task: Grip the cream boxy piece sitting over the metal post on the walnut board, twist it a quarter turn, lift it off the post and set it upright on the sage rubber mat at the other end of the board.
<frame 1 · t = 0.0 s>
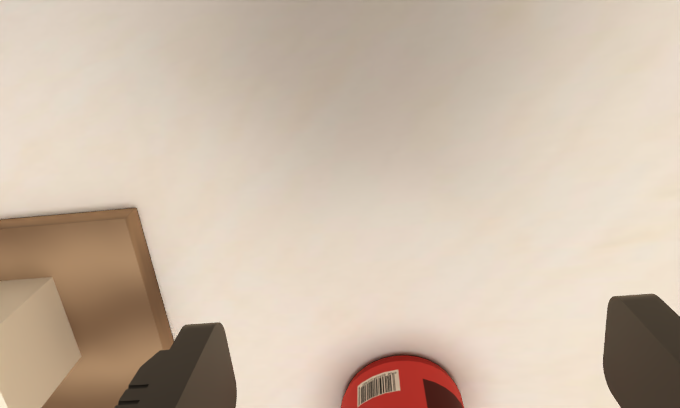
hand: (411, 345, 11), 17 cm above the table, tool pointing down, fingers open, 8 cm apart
post board: (67, 382, 34), on the table
canned food: (399, 397, 33), on the table
cream boxy piece: (22, 321, 30), point 1 cm above the table, touching post board
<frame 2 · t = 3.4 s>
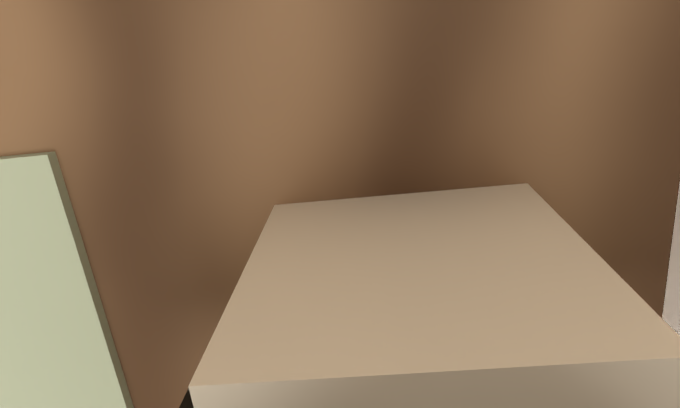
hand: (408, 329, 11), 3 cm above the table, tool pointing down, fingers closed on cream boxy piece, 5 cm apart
post board: (185, 289, 14), on the table
cream boxy piece: (406, 303, 12), point 2 cm above the table, touching gripper, post board
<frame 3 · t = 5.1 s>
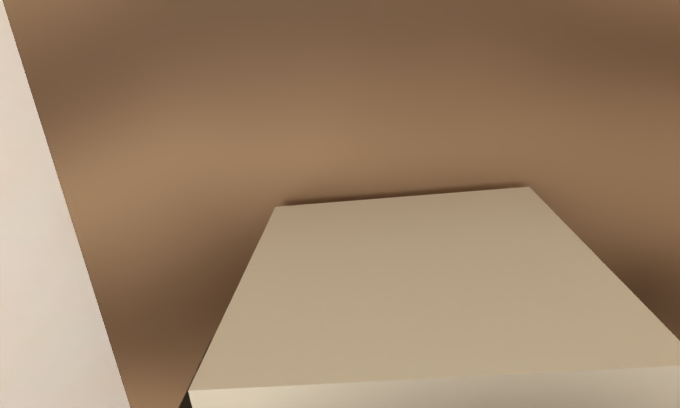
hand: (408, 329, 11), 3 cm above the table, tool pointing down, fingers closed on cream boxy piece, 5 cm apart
post board: (385, 41, 12), on the table
cream boxy piece: (406, 306, 12), point 2 cm above the table, touching gripper
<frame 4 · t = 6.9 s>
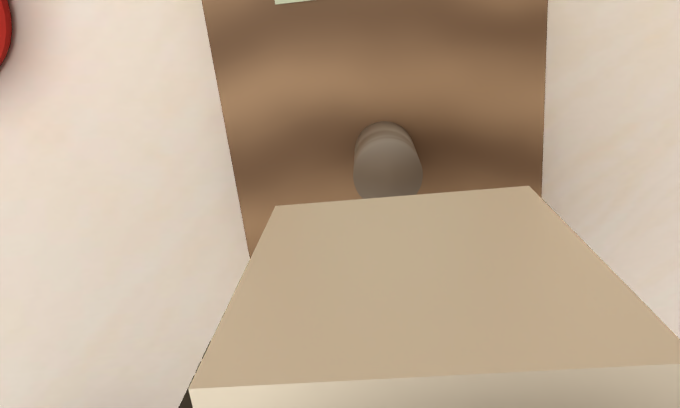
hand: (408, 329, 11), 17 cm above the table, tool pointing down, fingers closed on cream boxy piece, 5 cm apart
post board: (373, 26, 25), on the table
cream boxy piece: (406, 305, 12), point 16 cm above the table, touching gripper
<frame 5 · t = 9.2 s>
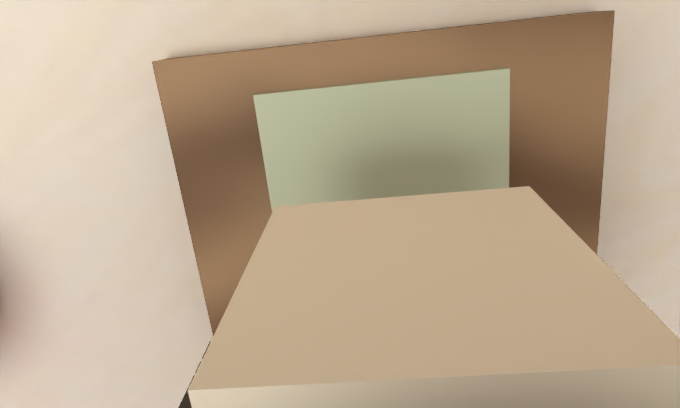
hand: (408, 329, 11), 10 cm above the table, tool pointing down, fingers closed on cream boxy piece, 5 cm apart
post board: (396, 313, 23), on the table
mat: (388, 199, 19), resting on post board
cream boxy piece: (406, 306, 12), point 9 cm above the table, touching gripper
when the fingers open (4 cm above the table, at t = 10.9 s): cream boxy piece drops 1 cm, resting on mat.
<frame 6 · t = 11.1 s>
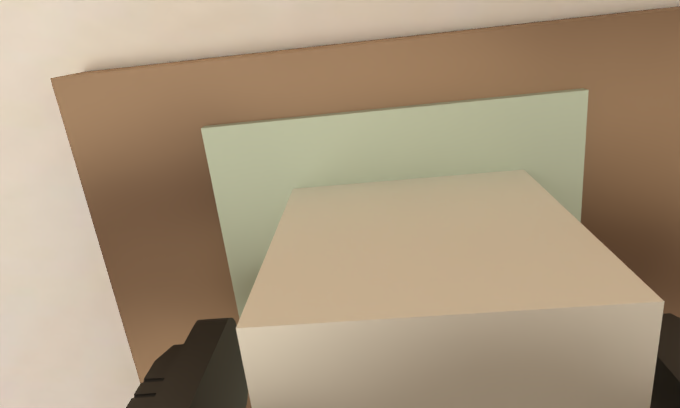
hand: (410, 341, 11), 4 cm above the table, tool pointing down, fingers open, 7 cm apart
mat: (400, 275, 14), resting on post board
cream boxy piece: (412, 280, 13), point 2 cm above the table, touching mat
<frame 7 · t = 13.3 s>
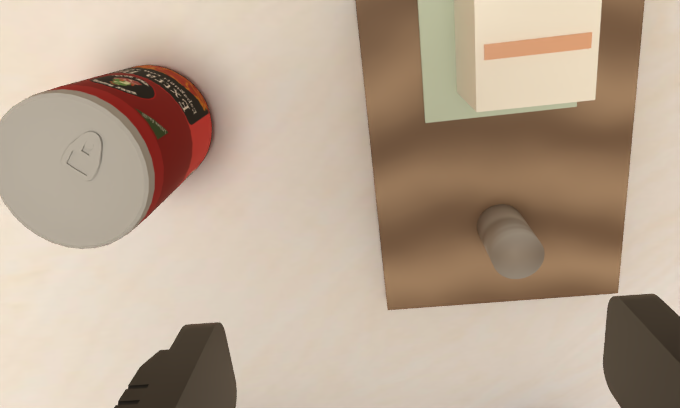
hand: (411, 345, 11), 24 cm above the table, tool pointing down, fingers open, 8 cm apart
post board: (493, 131, 33), on the table
canned food: (160, 122, 34), on the table
mat: (498, 37, 29), resting on post board
cream boxy piece: (504, 37, 29), point 2 cm above the table, touching mat
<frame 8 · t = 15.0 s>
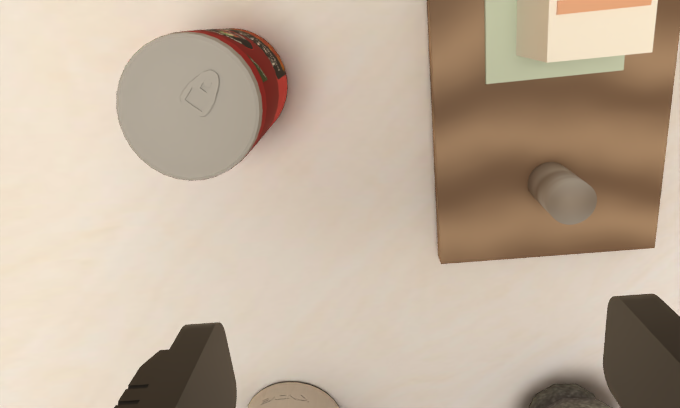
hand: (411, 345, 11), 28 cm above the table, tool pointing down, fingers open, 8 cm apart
post board: (544, 95, 36), on the table
canned food: (237, 84, 37), on the table
mat: (555, 5, 33), resting on post board
cream boxy piece: (561, 5, 32), point 2 cm above the table, touching mat
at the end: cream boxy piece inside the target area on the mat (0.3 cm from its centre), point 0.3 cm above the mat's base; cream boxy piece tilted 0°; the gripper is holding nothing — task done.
